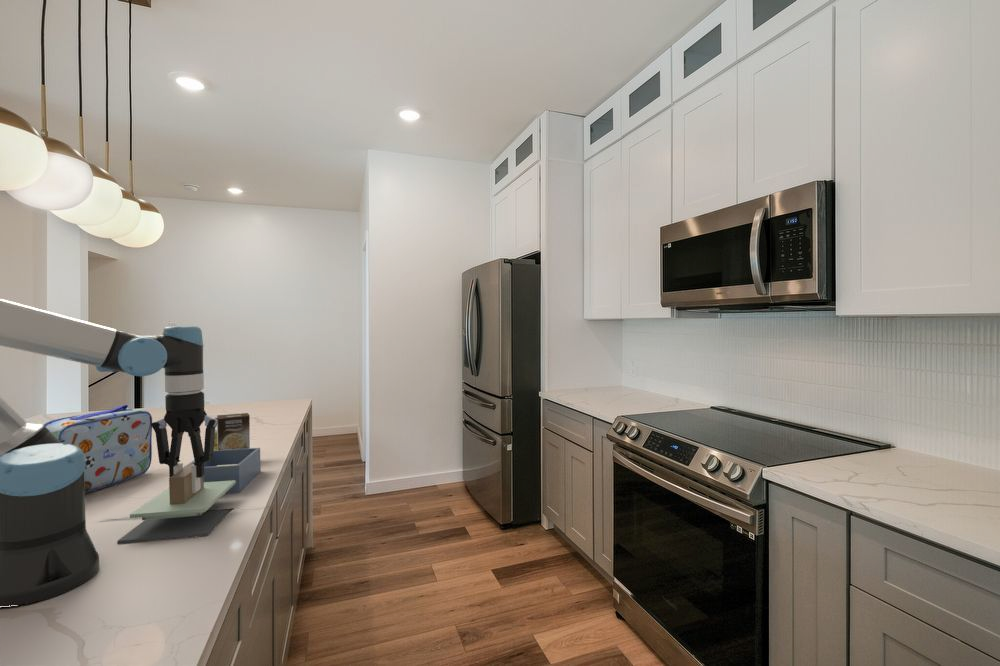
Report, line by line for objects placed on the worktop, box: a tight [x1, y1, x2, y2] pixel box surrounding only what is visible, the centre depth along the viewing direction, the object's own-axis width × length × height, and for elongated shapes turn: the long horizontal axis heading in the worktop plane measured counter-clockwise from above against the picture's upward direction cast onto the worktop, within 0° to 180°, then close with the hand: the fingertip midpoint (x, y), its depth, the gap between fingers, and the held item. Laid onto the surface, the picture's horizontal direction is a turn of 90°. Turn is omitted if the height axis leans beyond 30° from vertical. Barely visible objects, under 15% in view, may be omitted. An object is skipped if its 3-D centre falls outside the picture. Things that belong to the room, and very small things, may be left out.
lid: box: [129, 464, 236, 521], centre depth 108 cm, size 18×14×8 cm
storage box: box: [183, 447, 261, 495], centre depth 130 cm, size 18×14×8 cm
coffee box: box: [216, 412, 251, 450], centre depth 149 cm, size 9×6×16 cm
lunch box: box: [43, 404, 153, 494], centre depth 131 cm, size 28×10×22 cm, turn 168°
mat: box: [116, 507, 234, 545], centre depth 108 cm, size 22×17×1 cm
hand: (187, 491), depth 108 cm, fingers closed on lid, 3 cm apart
